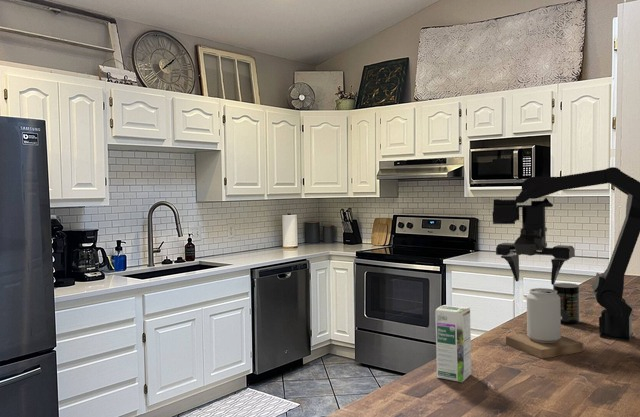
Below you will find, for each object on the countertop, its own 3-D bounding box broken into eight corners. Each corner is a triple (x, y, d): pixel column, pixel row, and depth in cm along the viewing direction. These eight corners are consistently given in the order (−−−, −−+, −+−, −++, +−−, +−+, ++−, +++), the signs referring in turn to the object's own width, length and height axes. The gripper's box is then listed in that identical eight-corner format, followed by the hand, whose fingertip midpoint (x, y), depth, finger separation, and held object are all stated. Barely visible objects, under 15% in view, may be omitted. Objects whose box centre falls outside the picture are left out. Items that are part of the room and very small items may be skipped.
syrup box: (435, 378, 110) (434, 309, 109) (446, 369, 115) (444, 303, 114) (462, 383, 107) (460, 312, 106) (472, 374, 111) (470, 306, 111)
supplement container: (585, 322, 148) (584, 285, 147) (569, 326, 144) (569, 288, 144) (563, 317, 153) (563, 282, 153) (548, 321, 150) (547, 284, 150)
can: (564, 344, 122) (563, 293, 122) (530, 343, 124) (529, 293, 123) (556, 335, 130) (556, 286, 129) (524, 334, 131) (523, 286, 131)
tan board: (544, 337, 135) (544, 330, 134) (582, 351, 123) (582, 342, 123) (505, 344, 131) (505, 336, 130) (541, 358, 119) (541, 350, 119)
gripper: (487, 225, 139) (488, 284, 140) (562, 227, 127) (563, 291, 128) (503, 222, 148) (504, 278, 148) (575, 224, 136) (575, 284, 136)
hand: (534, 282), depth 140 cm, fingers open, 9 cm apart
